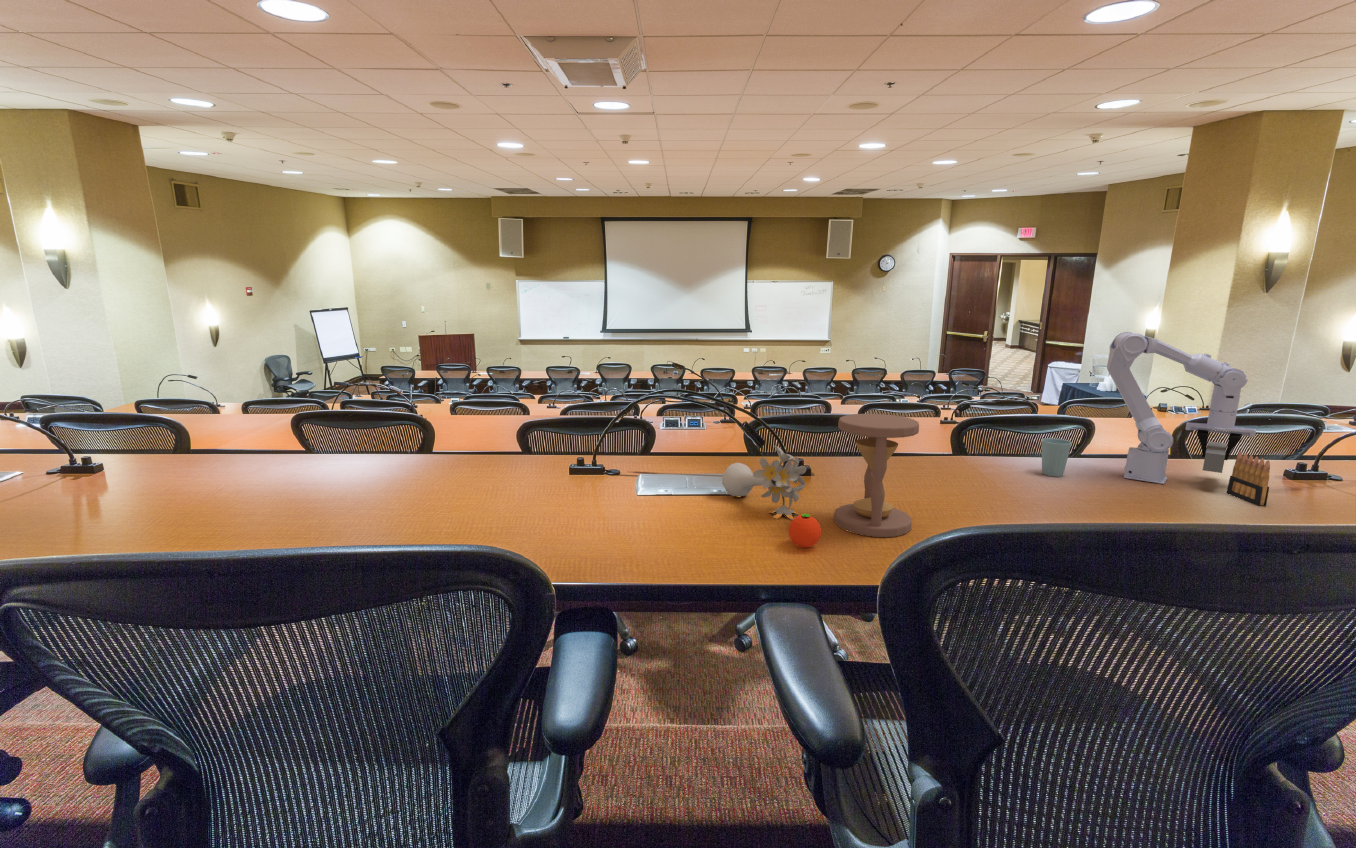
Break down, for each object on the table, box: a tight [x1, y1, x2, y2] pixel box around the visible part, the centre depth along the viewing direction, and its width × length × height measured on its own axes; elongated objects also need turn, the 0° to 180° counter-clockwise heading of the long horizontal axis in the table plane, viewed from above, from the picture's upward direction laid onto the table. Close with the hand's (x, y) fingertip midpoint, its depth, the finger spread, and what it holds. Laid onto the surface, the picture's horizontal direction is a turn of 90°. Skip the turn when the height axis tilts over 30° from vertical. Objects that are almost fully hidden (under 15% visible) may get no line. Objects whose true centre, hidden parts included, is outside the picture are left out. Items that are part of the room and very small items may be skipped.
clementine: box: [787, 513, 822, 549], centre depth 129 cm, size 8×7×7 cm
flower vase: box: [721, 445, 807, 515], centre depth 154 cm, size 13×18×25 cm
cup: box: [1041, 437, 1072, 478], centre depth 181 cm, size 8×8×10 cm
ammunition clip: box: [1226, 451, 1271, 507], centre depth 157 cm, size 11×2×12 cm, turn 173°
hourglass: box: [833, 413, 920, 538], centre depth 140 cm, size 18×18×25 cm
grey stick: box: [1202, 440, 1228, 474], centre depth 169 cm, size 4×18×5 cm, turn 137°
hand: (1214, 458), depth 169 cm, fingers closed on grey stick, 4 cm apart
